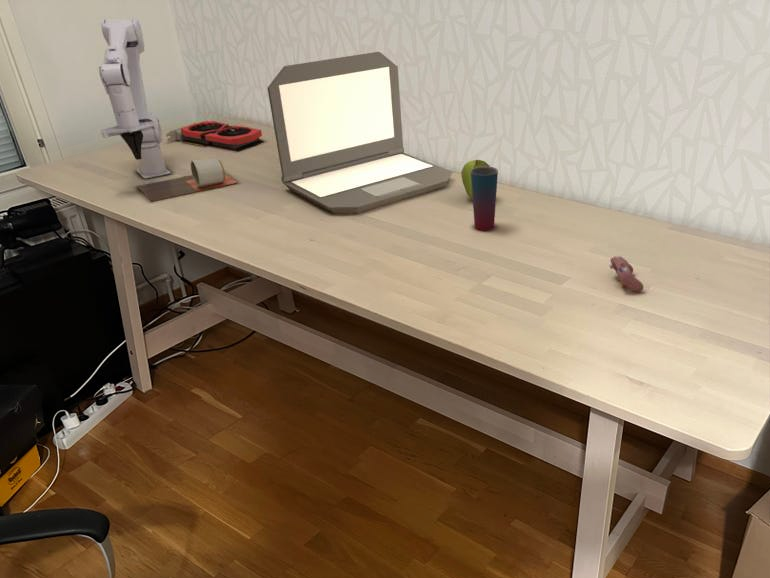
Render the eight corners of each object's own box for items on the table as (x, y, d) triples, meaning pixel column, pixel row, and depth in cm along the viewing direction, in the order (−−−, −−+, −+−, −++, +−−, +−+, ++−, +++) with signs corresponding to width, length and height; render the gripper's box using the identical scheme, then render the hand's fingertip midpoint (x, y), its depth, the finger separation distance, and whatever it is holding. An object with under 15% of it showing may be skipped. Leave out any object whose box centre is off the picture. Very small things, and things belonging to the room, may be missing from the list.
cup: (500, 224, 181) (501, 167, 173) (492, 233, 176) (493, 176, 168) (476, 220, 183) (475, 165, 175) (467, 230, 178) (466, 173, 170)
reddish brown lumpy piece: (615, 279, 158) (604, 255, 154) (633, 270, 157) (622, 245, 153) (626, 300, 150) (614, 275, 146) (645, 291, 149) (635, 265, 145)
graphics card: (223, 156, 231) (221, 144, 229) (163, 141, 245) (160, 130, 243) (268, 141, 245) (266, 130, 242) (208, 128, 259) (206, 117, 257)
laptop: (340, 221, 184) (323, 88, 165) (283, 190, 203) (262, 69, 185) (463, 183, 207) (461, 64, 189) (402, 159, 227) (394, 49, 208)
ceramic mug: (228, 184, 207) (223, 158, 203) (201, 190, 203) (195, 164, 199) (217, 175, 214) (211, 150, 210) (190, 181, 210) (184, 155, 206)
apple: (465, 193, 200) (465, 154, 194) (494, 195, 199) (494, 155, 192) (458, 204, 193) (457, 163, 187) (488, 206, 192) (488, 165, 185)
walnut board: (137, 187, 207) (137, 186, 206) (220, 170, 219) (220, 169, 219) (151, 201, 196) (151, 200, 196) (237, 183, 209) (237, 182, 209)
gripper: (99, 117, 186) (114, 167, 193) (155, 108, 193) (168, 157, 200) (93, 111, 190) (108, 160, 198) (148, 103, 197) (161, 151, 205)
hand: (138, 158), depth 199 cm, fingers closed
